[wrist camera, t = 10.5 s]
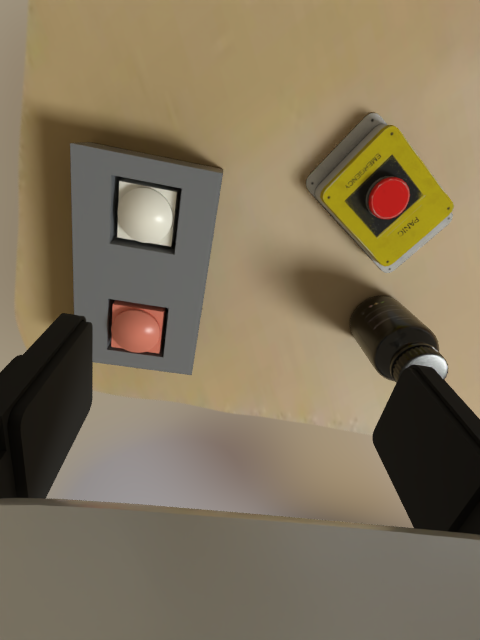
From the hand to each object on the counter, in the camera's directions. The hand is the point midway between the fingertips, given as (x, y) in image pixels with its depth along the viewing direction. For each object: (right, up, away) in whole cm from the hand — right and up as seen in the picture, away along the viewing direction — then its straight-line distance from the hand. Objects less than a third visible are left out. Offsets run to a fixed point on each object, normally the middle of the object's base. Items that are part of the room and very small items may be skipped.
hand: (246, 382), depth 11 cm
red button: (-11, +2, +30) cm, 32 cm away
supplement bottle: (+17, +2, +34) cm, 38 cm away
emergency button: (+15, +15, +28) cm, 35 cm away
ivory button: (-9, +13, +25) cm, 30 cm away
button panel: (-10, +8, +29) cm, 32 cm away
